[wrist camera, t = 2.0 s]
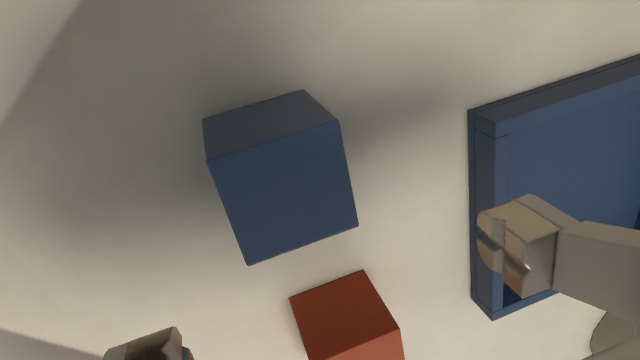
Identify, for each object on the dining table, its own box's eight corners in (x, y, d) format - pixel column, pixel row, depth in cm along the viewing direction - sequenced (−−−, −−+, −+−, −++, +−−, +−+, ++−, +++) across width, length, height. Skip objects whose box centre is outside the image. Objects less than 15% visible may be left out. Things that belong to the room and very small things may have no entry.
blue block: (200, 119, 16) (205, 161, 12) (304, 88, 17) (339, 119, 13) (234, 208, 18) (247, 267, 14) (324, 177, 19) (359, 226, 15)
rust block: (288, 298, 22) (310, 365, 18) (363, 269, 22) (400, 328, 18) (306, 349, 24) (329, 420, 20) (374, 322, 25) (408, 385, 21)
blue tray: (467, 110, 20) (495, 123, 18) (679, 41, 22) (723, 45, 20) (471, 299, 26) (492, 322, 25) (633, 231, 29) (663, 247, 27)
